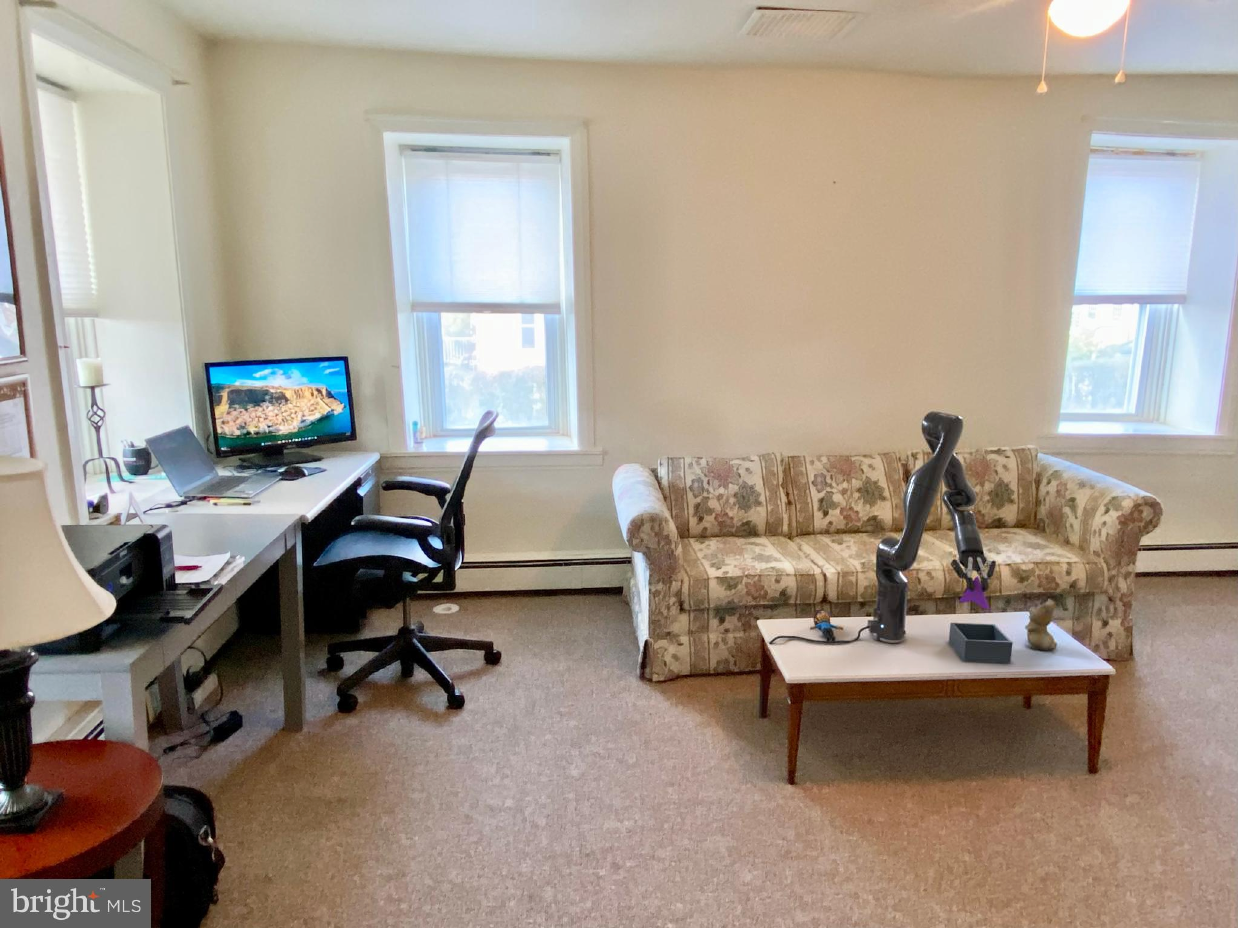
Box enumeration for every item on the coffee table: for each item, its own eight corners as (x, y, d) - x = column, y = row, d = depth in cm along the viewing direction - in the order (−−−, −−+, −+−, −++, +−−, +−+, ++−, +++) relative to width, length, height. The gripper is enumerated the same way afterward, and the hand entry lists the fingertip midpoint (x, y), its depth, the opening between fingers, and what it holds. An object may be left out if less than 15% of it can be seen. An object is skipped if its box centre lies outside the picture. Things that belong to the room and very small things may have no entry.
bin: (963, 661, 228) (965, 640, 226) (948, 642, 241) (950, 622, 240) (1010, 663, 227) (1012, 642, 225) (992, 644, 240) (994, 624, 238)
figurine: (1018, 637, 245) (1023, 593, 242) (1047, 640, 243) (1052, 596, 240) (1028, 650, 235) (1033, 605, 232) (1058, 653, 234) (1064, 607, 231)
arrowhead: (971, 619, 238) (950, 592, 241) (973, 618, 239) (952, 591, 242) (997, 604, 232) (975, 577, 235) (999, 603, 233) (977, 576, 236)
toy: (814, 633, 240) (804, 605, 253) (812, 648, 242) (802, 619, 256) (849, 633, 240) (836, 605, 253) (846, 648, 242) (834, 619, 256)
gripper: (949, 535, 241) (959, 584, 232) (995, 536, 240) (1006, 586, 231) (942, 546, 248) (951, 594, 238) (986, 547, 246) (998, 596, 237)
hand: (978, 590), depth 234 cm, fingers closed on arrowhead, 3 cm apart
